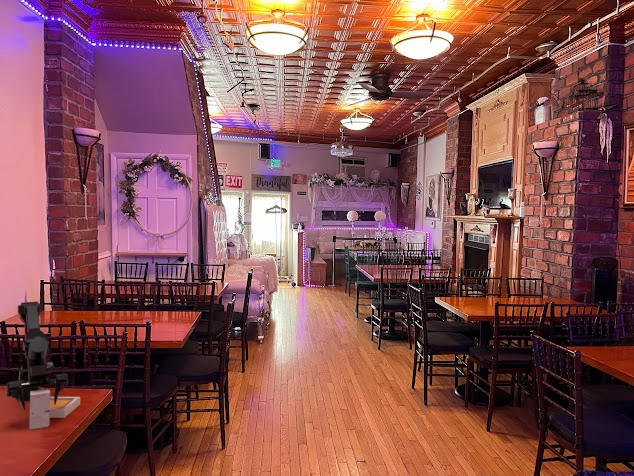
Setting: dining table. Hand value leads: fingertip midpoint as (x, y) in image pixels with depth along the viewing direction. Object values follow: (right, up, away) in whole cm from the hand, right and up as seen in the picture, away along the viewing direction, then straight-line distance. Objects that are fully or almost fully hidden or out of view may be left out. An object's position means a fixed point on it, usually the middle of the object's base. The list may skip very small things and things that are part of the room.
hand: (40, 406), depth 162 cm
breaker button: (-2, -5, +14) cm, 15 cm away
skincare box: (-1, -7, +1) cm, 7 cm away
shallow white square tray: (-2, -7, +14) cm, 16 cm away
